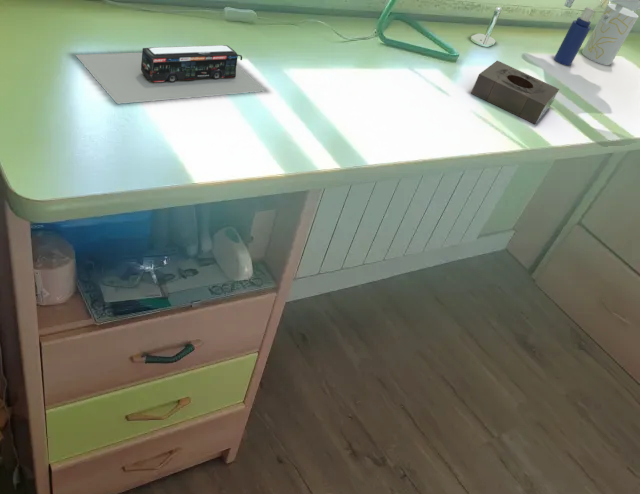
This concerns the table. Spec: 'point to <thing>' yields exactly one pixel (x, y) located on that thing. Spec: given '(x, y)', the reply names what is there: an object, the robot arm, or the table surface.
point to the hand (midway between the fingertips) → (585, 14)
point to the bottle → (574, 38)
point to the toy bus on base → (170, 73)
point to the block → (515, 91)
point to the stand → (487, 32)
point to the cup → (609, 35)
